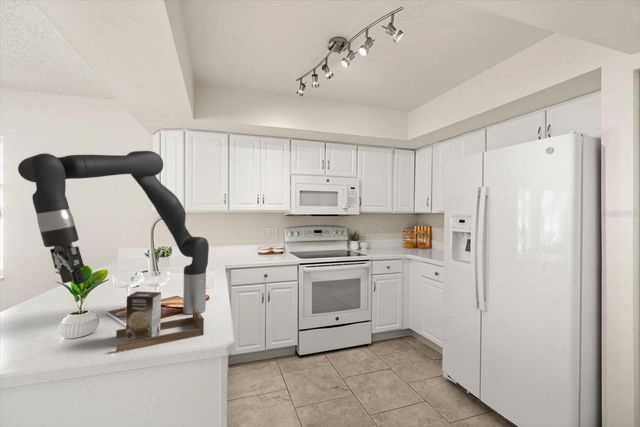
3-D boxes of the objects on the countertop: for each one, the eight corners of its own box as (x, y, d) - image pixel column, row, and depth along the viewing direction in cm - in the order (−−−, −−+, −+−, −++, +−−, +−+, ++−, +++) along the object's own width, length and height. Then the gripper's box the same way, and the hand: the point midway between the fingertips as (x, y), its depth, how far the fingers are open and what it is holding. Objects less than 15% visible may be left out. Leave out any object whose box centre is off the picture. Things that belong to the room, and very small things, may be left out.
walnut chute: (116, 336, 109) (116, 320, 108) (195, 322, 123) (195, 307, 123) (116, 352, 97) (116, 334, 97) (203, 334, 112) (203, 318, 112)
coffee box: (124, 343, 104) (125, 296, 104) (135, 335, 110) (135, 291, 110) (152, 343, 104) (152, 296, 104) (161, 335, 111) (161, 291, 110)
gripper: (84, 223, 84) (99, 279, 86) (64, 225, 92) (79, 276, 94) (49, 229, 78) (66, 290, 80) (32, 231, 85) (48, 286, 88)
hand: (73, 282), depth 87 cm, fingers open, 8 cm apart
